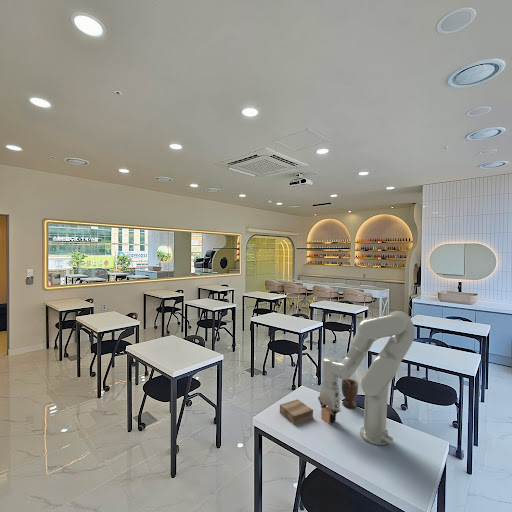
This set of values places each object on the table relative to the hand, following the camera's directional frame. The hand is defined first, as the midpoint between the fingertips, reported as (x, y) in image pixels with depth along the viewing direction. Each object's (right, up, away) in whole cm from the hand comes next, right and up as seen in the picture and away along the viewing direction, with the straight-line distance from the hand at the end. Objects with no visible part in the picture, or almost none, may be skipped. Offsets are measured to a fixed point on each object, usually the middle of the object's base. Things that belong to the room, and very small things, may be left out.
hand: (328, 418), depth 146 cm
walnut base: (-16, 0, +3) cm, 16 cm away
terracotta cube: (0, -1, 0) cm, 1 cm away
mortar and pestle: (+14, -1, +13) cm, 19 cm away
